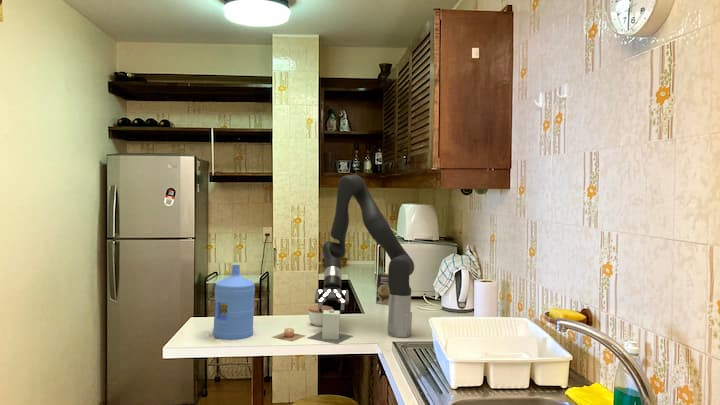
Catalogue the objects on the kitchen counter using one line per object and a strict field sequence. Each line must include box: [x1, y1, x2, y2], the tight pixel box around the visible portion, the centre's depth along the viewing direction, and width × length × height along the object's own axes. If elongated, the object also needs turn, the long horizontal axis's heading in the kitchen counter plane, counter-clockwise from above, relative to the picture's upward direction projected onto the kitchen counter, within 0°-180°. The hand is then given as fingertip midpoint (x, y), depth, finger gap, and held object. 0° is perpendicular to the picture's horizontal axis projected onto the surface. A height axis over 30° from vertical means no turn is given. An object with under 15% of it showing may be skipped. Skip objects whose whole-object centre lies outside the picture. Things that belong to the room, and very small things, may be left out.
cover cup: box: [321, 308, 341, 340], centre depth 199 cm, size 7×7×11 cm
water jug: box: [212, 264, 256, 340], centre depth 198 cm, size 16×16×28 cm
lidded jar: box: [308, 304, 334, 327], centre depth 219 cm, size 11×11×9 cm
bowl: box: [283, 327, 295, 337], centre depth 197 cm, size 4×4×3 cm
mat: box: [306, 331, 354, 345], centre depth 199 cm, size 14×14×1 cm
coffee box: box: [375, 272, 389, 306], centre depth 272 cm, size 9×6×16 cm
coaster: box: [271, 332, 306, 342], centre depth 197 cm, size 10×10×1 cm
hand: (331, 311), depth 203 cm, fingers open, 8 cm apart
